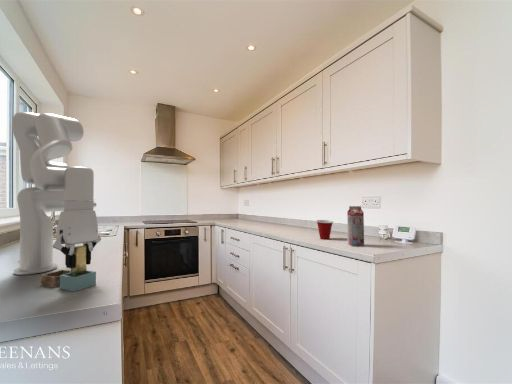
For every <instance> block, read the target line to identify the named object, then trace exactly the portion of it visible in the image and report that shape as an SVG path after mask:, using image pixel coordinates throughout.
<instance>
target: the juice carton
mask: <svg viewBox="0 0 512 384" xmlns="http://www.w3.org/2000/svg"><path fill="white" fill-rule="evenodd" d="M346 215H347V245H349V246H350V247H365V220H364V218H365V216H364V211H363V209H362V205H357V206H356V205H354V206H353V205H349V206H348V210H347V214H346Z"/></svg>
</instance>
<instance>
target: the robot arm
mask: <svg viewBox="0 0 512 384" xmlns="http://www.w3.org/2000/svg"><path fill="white" fill-rule="evenodd" d="M11 128H12V129H11V130H12V133H13V137H14V139H15V142H16V143H17V146H18V150H19V157H20V162H19V163H20V174H21V178H22V181H23V182H24V183H26V184H29V185H35V186H34V187H33V186H32V187H25V188H23V189H21V190H20V191H18V194H17V195H16V196H17V197H16V200H17V206H18V211H19V260H18V264H19V267H16V268H15V269H14V270H13V275H18V276H19V275H20V276H22V275H27V276H28V275H35V274H40V273H46V272H50V271H54V270H56V269H58V267H59V266H58V264H57V263H55V262H53V261H54V260H53V258H54V257H53V256H54V251H53V249H56V250H59V251H60V252H61V253H63V255H64V256H65V257H64V258H65V262H64V264H65V266H66V269H71V268H75V255H73V252H74V247H75V246H76V245H79V244H80V245H81V244H82V246H87V265H91V263H92V262H91V261H92V252H93V251H94V248H95V247H96V245H97V244H99V242H101V241H102V237H101V236H100V235H99V229H98V218H97V214H96V213H97V212H96V210H94V208H95V207H97V203H96V202H95V201H94V192H95V191H94V187H95V186H94V185H95V184H94V180H95V179H94V176H95V175H94V170H93V169H92V168H90V167H86V166H70V165H68V163H65V162H58V161H51V160H56V159H60V158H63V157H66V156H68V155H70V154H71V152H72V151H73V145H72V142H78V141H81V140H82V138H83V136H84V126H83V125H82V123H81V122H80V121H79V120H78V119H76V118H72V117H67V116H62V115H59V114H57V113H56V114H55V113H49V112H48V113H47V112H44V113H36V112H35V113H34V112H30V111H19V112H16V113H14V115H13V116H12V120H11ZM50 212H59V217H58V221H57V229H56V238H55V239H56V240H55V241H54V223H53V220H52V219H51V218H50V217H49V216H48V215H47V213H50Z"/></svg>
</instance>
